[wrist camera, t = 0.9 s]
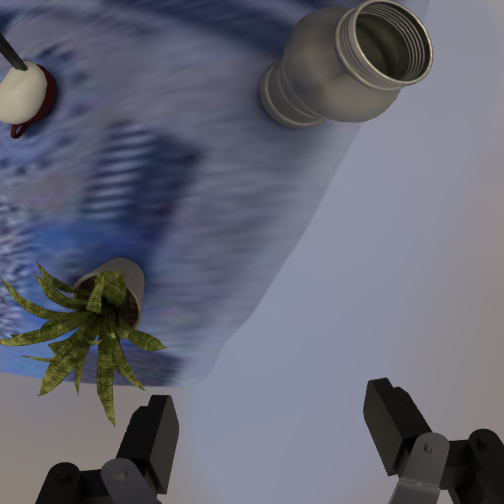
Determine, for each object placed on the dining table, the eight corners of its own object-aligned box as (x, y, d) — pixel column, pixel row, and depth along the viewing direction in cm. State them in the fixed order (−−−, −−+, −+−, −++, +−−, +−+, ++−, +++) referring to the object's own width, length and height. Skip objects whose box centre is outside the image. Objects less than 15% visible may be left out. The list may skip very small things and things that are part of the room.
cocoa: (36, 143, 27) (-37, 163, 16) (5, 111, 25) (-69, 121, 14) (88, 70, 25) (23, 54, 14) (53, 40, 23) (-15, 18, 12)
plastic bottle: (280, 142, 29) (373, 154, 11) (242, 82, 27) (274, -7, 8) (336, 111, 29) (481, 93, 10) (301, 52, 26) (405, -43, 8)
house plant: (82, 180, 29) (-21, 225, 13) (206, 233, 32) (191, 324, 16) (55, 296, 33) (-17, 385, 17) (160, 342, 36) (134, 456, 20)
